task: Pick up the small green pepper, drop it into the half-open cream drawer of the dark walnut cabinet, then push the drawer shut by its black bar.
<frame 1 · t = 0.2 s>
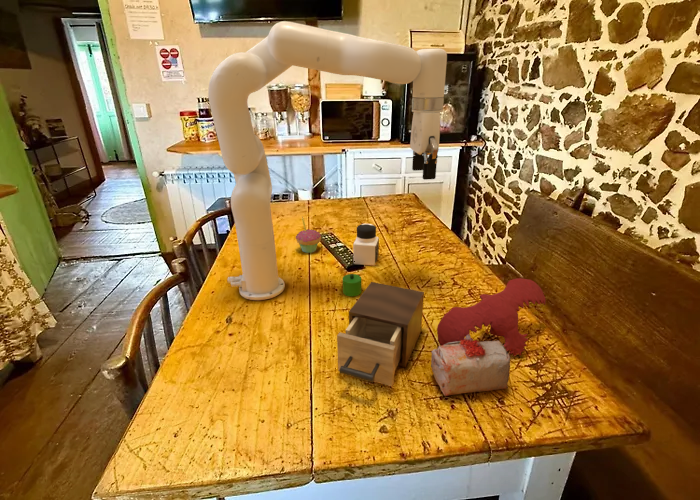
hand: (423, 174, 104), 31 cm above the table, tool pointing down, fingers open, 9 cm apart
cabinet: (386, 341, 90), on the table
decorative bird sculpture: (500, 339, 89), on the table
pepper: (352, 291, 110), on the table
drawer: (371, 348, 79), point 5 cm above the table, slide at 6.0 cm
cupcake: (309, 250, 136), on the table
medicine bottle: (366, 260, 128), on the table
food item: (467, 383, 78), on the table
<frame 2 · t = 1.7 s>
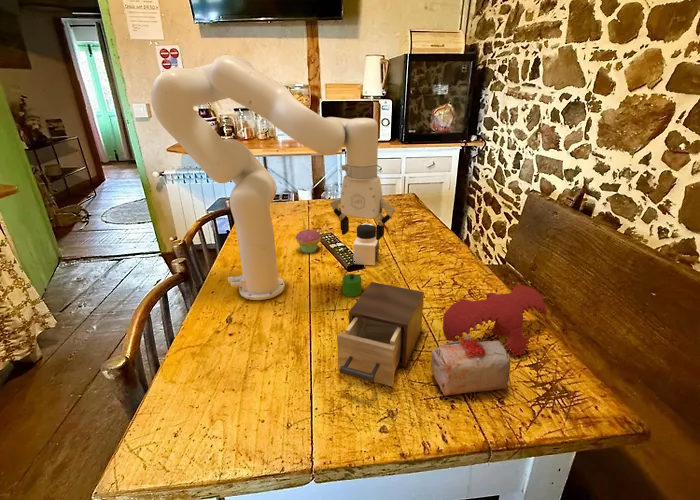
hand: (362, 235, 104), 16 cm above the table, tool pointing down, fingers open, 9 cm apart
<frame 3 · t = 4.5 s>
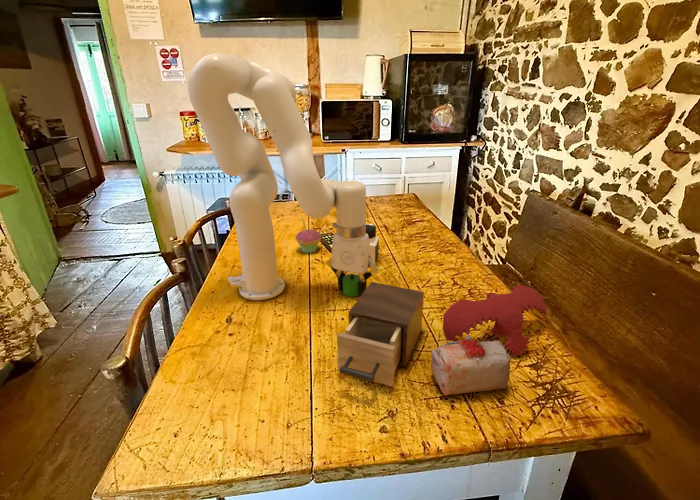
hand: (352, 289, 110), 1 cm above the table, tool pointing down, fingers closed on pepper, 5 cm apart
pepper: (352, 291, 110), on the table, touching gripper
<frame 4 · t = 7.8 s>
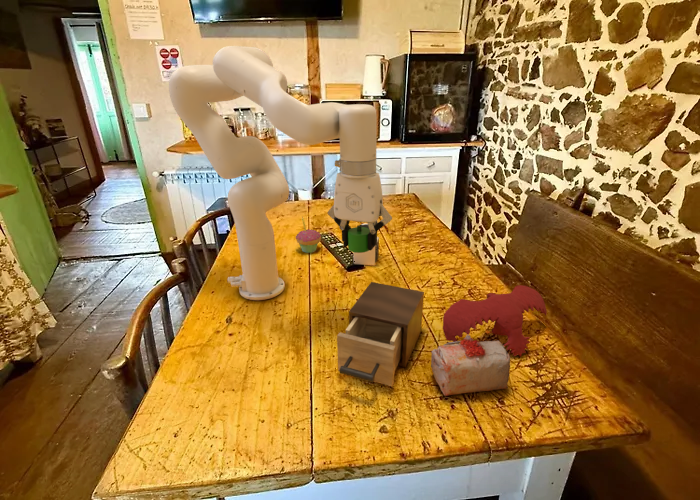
hand: (359, 245, 90), 20 cm above the table, tool pointing down, fingers closed on pepper, 5 cm apart
pepper: (359, 248, 91), point 19 cm above the table, touching gripper
when the fingers open (11 cm above the table, at t = 11.6 s): pepper drops 8 cm, resting on drawer.
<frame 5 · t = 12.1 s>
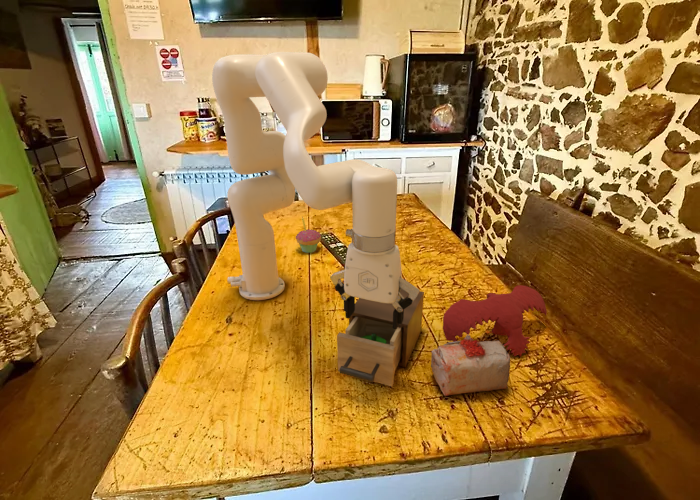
hand: (372, 319, 77), 12 cm above the table, tool pointing down, fingers open, 9 cm apart
pepper: (371, 359, 80), point 3 cm above the table, tilted 18°, touching drawer
drawer: (371, 348, 79), point 5 cm above the table, slide at 6.0 cm, touching pepper
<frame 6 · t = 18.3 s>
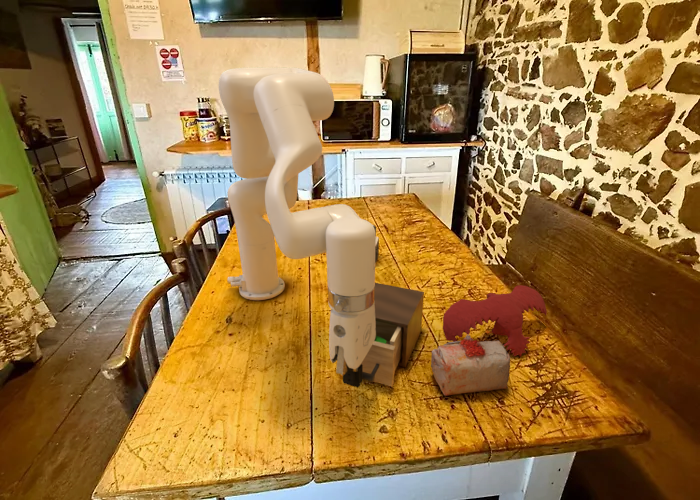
hand: (352, 382, 71), 5 cm above the table, tool pointing down, fingers closed
drawer: (371, 348, 79), point 5 cm above the table, slide at 6.0 cm, touching gripper, pepper
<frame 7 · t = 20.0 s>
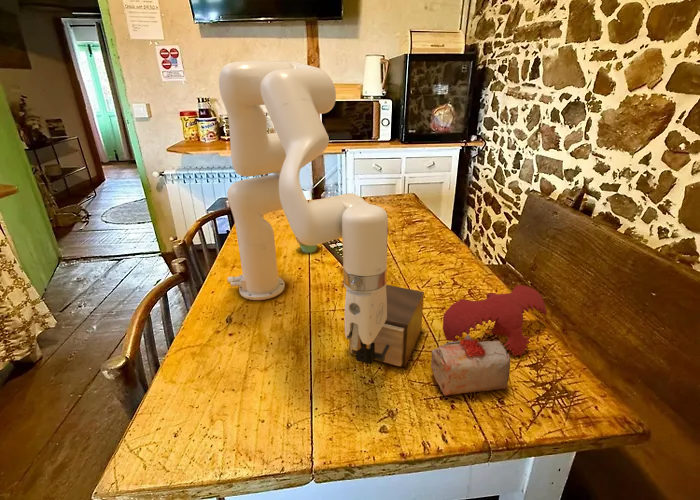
hand: (365, 360, 76), 5 cm above the table, tool pointing down, fingers closed
pepper: (380, 342, 85), point 3 cm above the table, tilted 17°, touching drawer
drawer: (381, 331, 84), point 5 cm above the table, slide at 0.0 cm, touching cabinet, gripper, pepper
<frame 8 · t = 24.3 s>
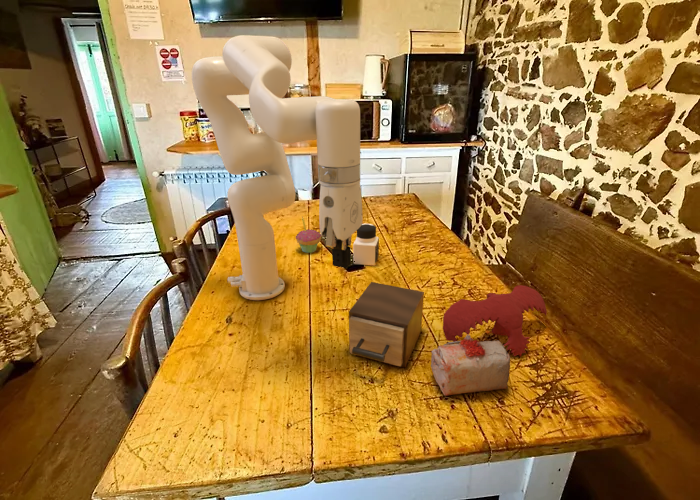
hand: (341, 265, 78), 21 cm above the table, tool pointing down, fingers closed
drawer: (381, 331, 84), point 5 cm above the table, slide at 0.0 cm, touching cabinet, pepper
at the end: pepper inside the target area in the cabinet (4.3 cm from its centre), point 2.8 cm above the cabinet's base; drawer slide at 0.0 cm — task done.
